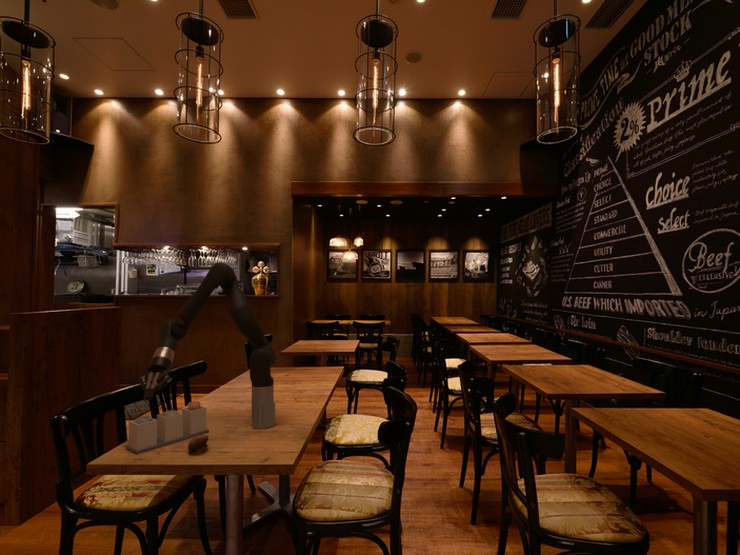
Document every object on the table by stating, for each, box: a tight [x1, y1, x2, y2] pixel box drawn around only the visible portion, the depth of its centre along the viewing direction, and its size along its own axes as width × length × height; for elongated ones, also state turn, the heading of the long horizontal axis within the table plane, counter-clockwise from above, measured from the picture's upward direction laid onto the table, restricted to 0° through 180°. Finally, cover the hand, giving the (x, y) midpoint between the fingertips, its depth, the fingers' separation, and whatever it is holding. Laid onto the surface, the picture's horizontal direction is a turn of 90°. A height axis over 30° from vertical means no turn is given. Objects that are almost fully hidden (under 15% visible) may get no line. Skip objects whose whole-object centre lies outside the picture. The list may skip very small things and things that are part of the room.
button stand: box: [125, 405, 210, 455], centre depth 154 cm, size 9×28×10 cm, turn 144°
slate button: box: [135, 415, 151, 424], centre depth 146 cm, size 5×5×3 cm
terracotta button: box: [187, 400, 201, 411], centre depth 163 cm, size 5×5×3 cm
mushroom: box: [187, 434, 210, 455], centre depth 143 cm, size 8×8×6 cm
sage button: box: [162, 409, 178, 417], centre depth 154 cm, size 5×5×3 cm
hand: (146, 399), depth 147 cm, fingers closed
